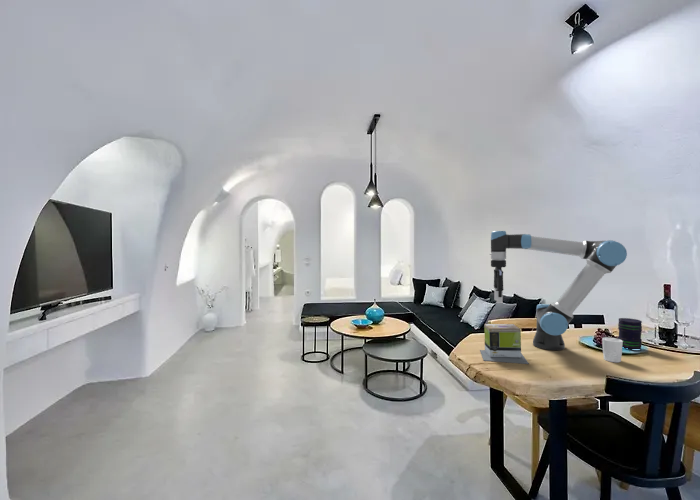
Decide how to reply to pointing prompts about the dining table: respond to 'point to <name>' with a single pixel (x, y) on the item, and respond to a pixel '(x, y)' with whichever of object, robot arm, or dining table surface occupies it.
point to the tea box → (502, 340)
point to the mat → (503, 358)
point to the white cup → (612, 349)
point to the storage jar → (630, 333)
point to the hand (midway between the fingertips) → (498, 301)
